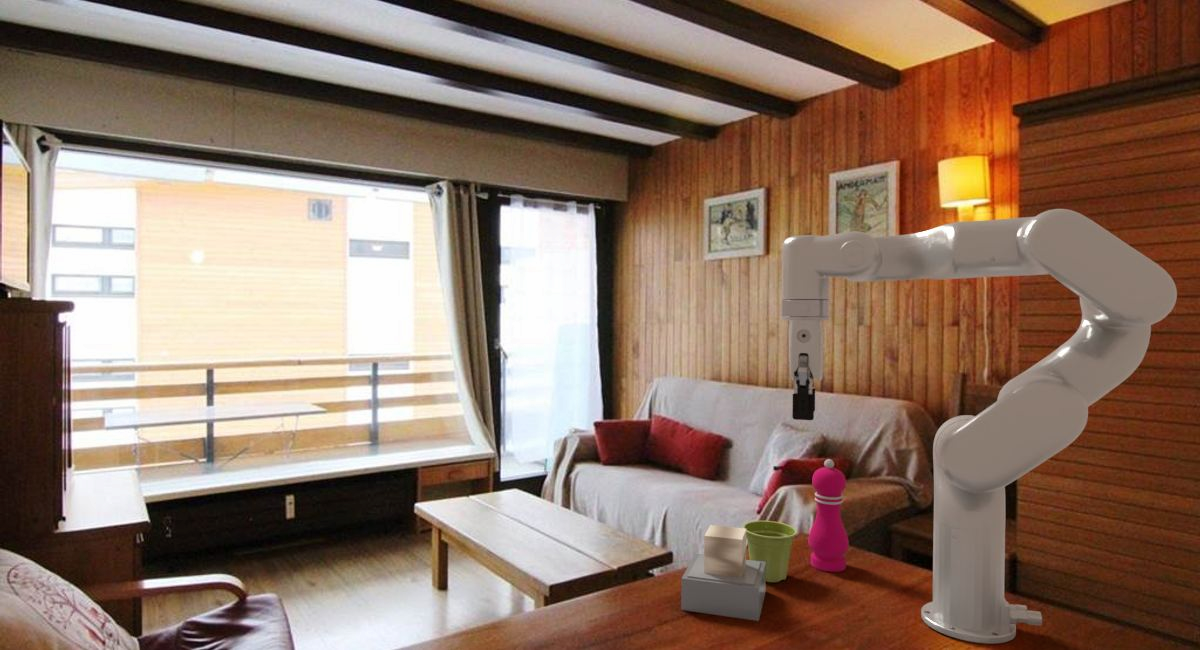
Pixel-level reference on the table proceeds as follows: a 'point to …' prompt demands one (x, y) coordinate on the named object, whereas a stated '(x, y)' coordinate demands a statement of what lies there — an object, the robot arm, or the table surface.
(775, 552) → the plant pot
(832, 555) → the pepper mill
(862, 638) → the table surface
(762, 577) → the slate stand
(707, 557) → the birch block
